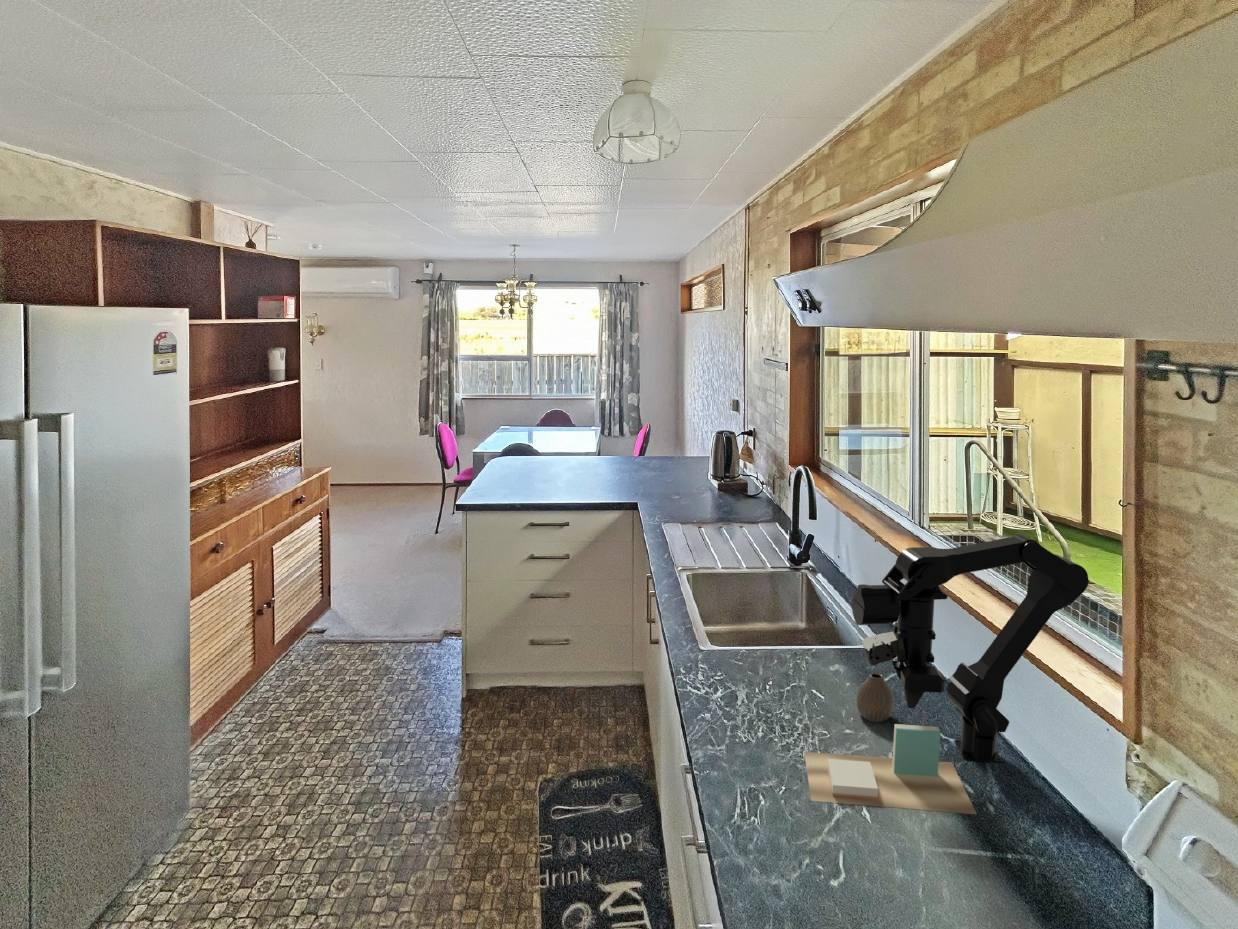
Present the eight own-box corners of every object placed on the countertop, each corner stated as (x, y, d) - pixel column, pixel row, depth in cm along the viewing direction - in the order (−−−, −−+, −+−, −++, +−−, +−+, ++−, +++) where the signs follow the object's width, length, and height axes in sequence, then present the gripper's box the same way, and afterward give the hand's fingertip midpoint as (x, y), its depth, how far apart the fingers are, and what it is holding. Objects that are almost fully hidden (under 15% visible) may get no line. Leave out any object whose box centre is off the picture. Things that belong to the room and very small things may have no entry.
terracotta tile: (827, 759, 135) (832, 785, 127) (870, 762, 134) (878, 788, 126) (827, 768, 136) (832, 795, 128) (869, 771, 134) (877, 799, 127)
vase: (868, 729, 150) (870, 685, 148) (848, 712, 156) (850, 670, 155) (900, 724, 151) (902, 681, 150) (880, 708, 158) (882, 666, 157)
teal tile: (892, 767, 136) (894, 724, 134) (934, 770, 135) (937, 727, 133) (894, 773, 134) (896, 729, 133) (937, 776, 133) (940, 732, 132)
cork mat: (804, 754, 141) (804, 751, 141) (951, 764, 137) (951, 762, 137) (811, 803, 126) (811, 800, 126) (976, 816, 123) (976, 814, 123)
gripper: (858, 602, 146) (855, 681, 149) (875, 641, 128) (871, 731, 131) (921, 604, 145) (917, 685, 147) (947, 644, 127) (942, 735, 129)
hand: (910, 707), depth 139 cm, fingers closed
